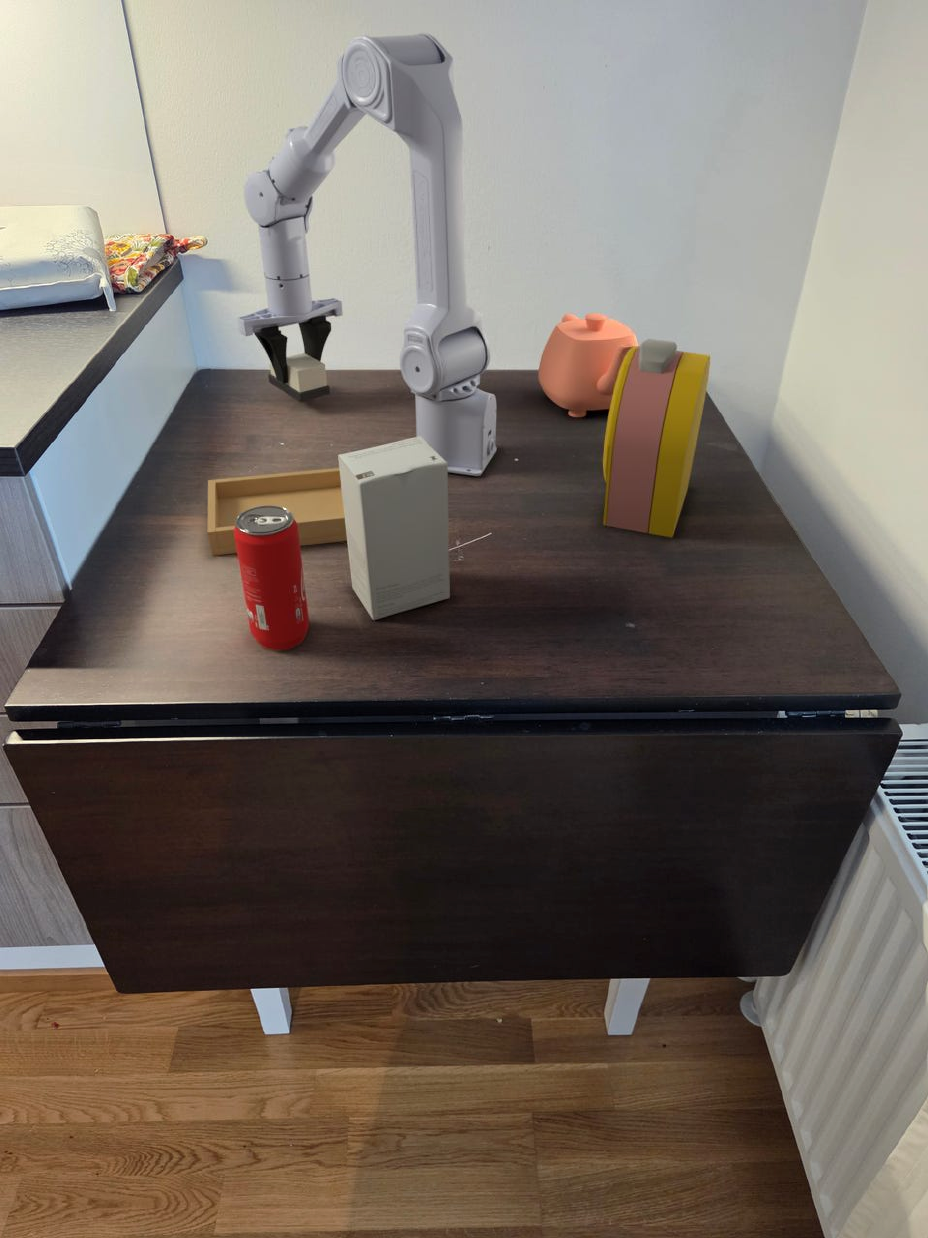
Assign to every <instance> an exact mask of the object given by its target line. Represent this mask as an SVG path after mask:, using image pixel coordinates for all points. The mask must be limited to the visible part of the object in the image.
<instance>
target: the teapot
mask: <svg viewBox="0 0 928 1238" xmlns="http://www.w3.org/2000/svg"><path fill="white" fill-rule="evenodd" d="M634 346H639V343H638V339H637V337H636V334H635V332H634V331H633V330H632V329H631V328H630V327H628V326H626V324H624V323H622V322H621V321H618V320H617V319H614V318H613V319H612V318H608V316H607V315H605V314H603V313H597V312H593V313H588V314H585V315H584V318H579V317H577V316H576V315H574V314H573V313H566V314H564V315H562V318H561V322H560V323H557V324H556V325H555V326H554V328H553V329H552V331H551V333H550V335H549V338H548V340H547V341H546V344H545V346H544V348H543V351H542V354H541V357H540V361H539V366H538V373H537V374H538V375H537V378H538V382H539V385H540V386H541V388H542V391H543V392H544V394H545V395H546V396H547V398H549V400H551V401H552V403H554V404H556V405H557V406H558V407H560V408H562V409H565V410H568V413H567V414H568V415H569V416H571V417H574V418H582V417H585V416H586V415H587V411H603V410H608V411H609V410H610V405H611V400H612V396H613V391H614V387H615V384H616V380H617V377H618V373H619V370H620V367H621V365H622V362H623V360H624V358H625V356H626V354H627V353H628V352H629V350H630V349H631V348H633V347H634Z"/></svg>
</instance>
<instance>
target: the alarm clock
mask: <svg viewBox="0 0 928 1238" xmlns="http://www.w3.org/2000/svg"><path fill="white" fill-rule="evenodd" d="M677 349H678V344H677V343H676V341H670V340H663V339H662V340H660V339H652V338H648V339H646V340H644V341H643V342H641V343H640V346H639V345H638V346H634V347H633V348H631V349H630V350H629V352H628V353H627V354H626V356H625V358H624V360H623V362H622V365H621V367H620V370H619V373H618V377H617V380H616V384H615V387H614V391H613V396H612V400H611V405H610V410H608V416H607V422H606V429H605V435H604V443H603V457H602V467H603V469H602V470H603V477H604V481H605V485H606V486H605V496H604V509H603V510H604V511H603V519H602V520H603V521H602V525H603V526H606V527H611V528H615V529H616V528H617V529H623V530H627V531H632V532H633V531H634V532H639V533H645V534H651V535H656V536H661V537H666V538H673V537H674V534H675V530H676V527H677V524H678V521H679V518H680V515H681V512H682V509H683V506H684V501H685V499H686V496H687V493H688V489H689V483H690V479H691V474H692V467H693V464H694V457H695V452H696V447H697V442H698V436H699V431H700V427H701V420H702V416H703V410H704V405H705V400H706V394H707V387H708V382H709V374H710V366H711V354H705V353H698V352H689V351H688V352H687V351H682V350H677Z"/></svg>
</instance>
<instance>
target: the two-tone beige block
mask: <svg viewBox="0 0 928 1238" xmlns="http://www.w3.org/2000/svg"><path fill="white" fill-rule="evenodd" d="M286 360H287V368H288V383H285V384H284V383H282V382H280V381H278V380H277V378H276V375H275V372H274V369H273V366H272V364H271V362H270V363H269V368H270V369H269V371H270V373H269V374H267V375H268V376H267V377H268V383H269V384H271V385H272V386H274V387H275V388H277V389H279V390H280V391H282V392H284V393H286V394H287V395H288V396H291V397H292V398H294V399H295V400H297V401H298V402H300V403H304V402H306V401H310V400H314V399H318V398H321V397H325V396H329V395H331V389H330V385H328V382H327V381H328V380H327V369H326V364H325V363H324V362H322V361H318V360H316V359H314V358H313V357H311V356H309V355H307V354H305V352H303V353H299V354H293V355H290V356H286Z"/></svg>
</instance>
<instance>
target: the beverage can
mask: <svg viewBox="0 0 928 1238" xmlns="http://www.w3.org/2000/svg"><path fill="white" fill-rule="evenodd" d="M235 525H236V526H235V528H234V537H235V543H236V549H237V553H236V554H237V560H238V567H239V572H240V578H241V584H242V590H243V596H244V602H245V607H246V613H247V619H248V624H249V630H250V633H251V636H252V637H253V638H254V639H255V640H256V642H257V644H258V645H259V647H261V648H263V649H264V650H268V651H274V652H283V651H287V650H291V649H293V648H295V647H298V646H299V645H300V644H302V643H303V642H304V641H305V638H306V636H307V632H308V630H309V626H310V618H309V608H308V601H307V593H306V583H305V576H304V567H303V558H302V551H301V546H300V541H299V533H298V525H297V522H296V521H295V520H294V517H293V514H292V513H291V512H290V511H289V510H287V509H286V508H283V507H279V506H259V507H254V508H251V509H248V510H246V511H244V512H242V513H241V514H240V515H239V516H238V517H237V518H236V521H235Z"/></svg>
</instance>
